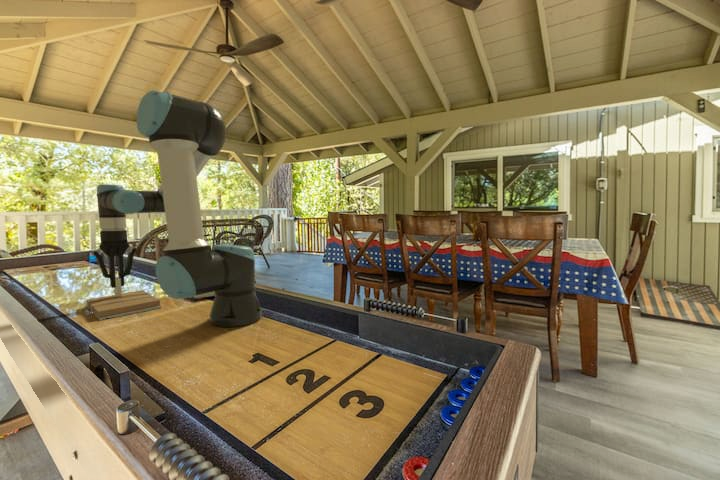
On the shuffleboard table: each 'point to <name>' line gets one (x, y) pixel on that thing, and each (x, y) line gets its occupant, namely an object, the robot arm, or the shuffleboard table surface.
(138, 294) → the wavy wooden board
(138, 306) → the wooden card stand
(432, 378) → the shuffleboard table surface
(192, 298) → the stone slab
